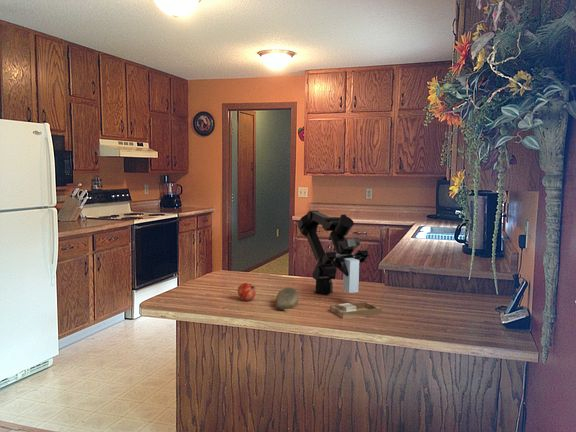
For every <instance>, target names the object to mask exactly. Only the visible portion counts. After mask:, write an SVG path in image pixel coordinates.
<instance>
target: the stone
mask: <svg viewBox="0 0 576 432" xmlns="http://www.w3.org/2000/svg"><path fill="white" fill-rule="evenodd" d="M299 298H300V295H299V291H298V290H297V289H295V288H292V287H285V288H283V289H280V290H279V291H278V292H277V295H276V298H275V306H276V308H277V310H279V311H285V310H291V309H295V308H296V307H297V306H298V304H299Z"/></svg>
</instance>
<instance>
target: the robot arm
mask: <svg viewBox="0 0 576 432" xmlns="http://www.w3.org/2000/svg"><path fill="white" fill-rule="evenodd" d="M354 224H355V222H354V220H353V219H352V218H351V217H349V216H347V215H346V214H341V215H340V216H329V215H327V214H325V213H322V212H320V211H319V210H309V211H307V212H306V214H304V215H303V216H301V217H300V218H299V221H298V222H297V228H298V230H299V232H300V233H301V235H302V236H304V237H306V239H307V242H308V244H309V247H310V250H311V251H312V255H313V256H314V258H315V260H316V263H315V266H314V268H315V269H314V270H313V271H312V279H314V280H315V291H314V292H313V294H318V295H330V294H331V293H333V292H334V291H333V290H334V287H333V281H332V280H335V278H336V276H337V270H339V271H340V272H341V273H344V274H345V275H346V276H348V275H349V274H348V271H347V268H346V266H345V263H344V259H345V258H354V259H357V260H359V264H361V263H365V262H366V261H367V259H368V257H369V256H370V253H369V250H368V249H358V250H357V251H356V253H353V252H354V251H355V249H356V248H358V247H360V245H361V243H362V242H361V240H360V238H359V237H354V238H346V236H348V235H349V233H350V232H351V230H352V228H353V226H354ZM319 225H321V227H322V229H323V230H324V231H325V232H330V233H329V236H328V241H331V243H332V245H333V250H332V251H326V252H325V249H324V247H323V245H322V243H321V240H320V238H319V235H318V233H317V231H318V228H319V227H318V226H319Z"/></svg>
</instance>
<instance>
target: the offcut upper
mask: <svg viewBox="0 0 576 432" xmlns="http://www.w3.org/2000/svg"><path fill="white" fill-rule="evenodd" d="M338 305H339V306H338V308H339V309H341V310H343V311H345V312H349V311H356V306H354V305H352V304H350V303H349V302H346V303H339V304H338Z"/></svg>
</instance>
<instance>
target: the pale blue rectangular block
mask: <svg viewBox="0 0 576 432" xmlns="http://www.w3.org/2000/svg"><path fill="white" fill-rule="evenodd" d="M344 263H345V266H346V268H347V271H348V274H349V275H348V276H346V275H345V274H344V273H343V272H342V273H343V276H342V290H343V291H345V292H347V294H348V293H349V294H352V293H359V282H360V281H359V278H360V276H359V275H360V263H359V260H357V259H354V258H345V259H344Z"/></svg>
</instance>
